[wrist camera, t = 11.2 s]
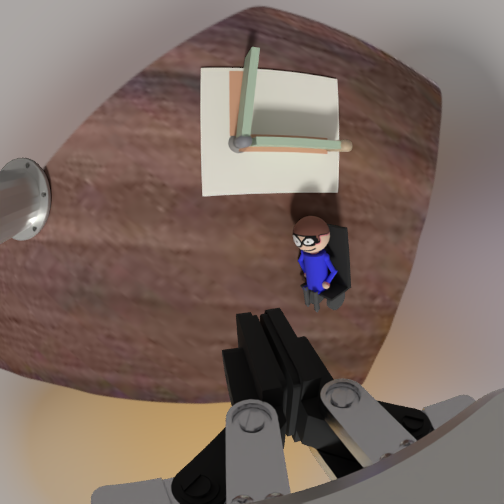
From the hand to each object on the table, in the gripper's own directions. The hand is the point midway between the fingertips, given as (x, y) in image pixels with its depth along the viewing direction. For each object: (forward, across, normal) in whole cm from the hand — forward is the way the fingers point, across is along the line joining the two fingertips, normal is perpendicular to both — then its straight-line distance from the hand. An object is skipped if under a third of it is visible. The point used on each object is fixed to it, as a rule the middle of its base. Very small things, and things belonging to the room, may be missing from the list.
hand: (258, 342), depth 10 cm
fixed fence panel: (+29, -12, -9) cm, 32 cm away
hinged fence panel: (+28, -5, -15) cm, 32 cm away
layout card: (+29, -9, -11) cm, 32 cm away
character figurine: (+29, -15, +8) cm, 34 cm away
